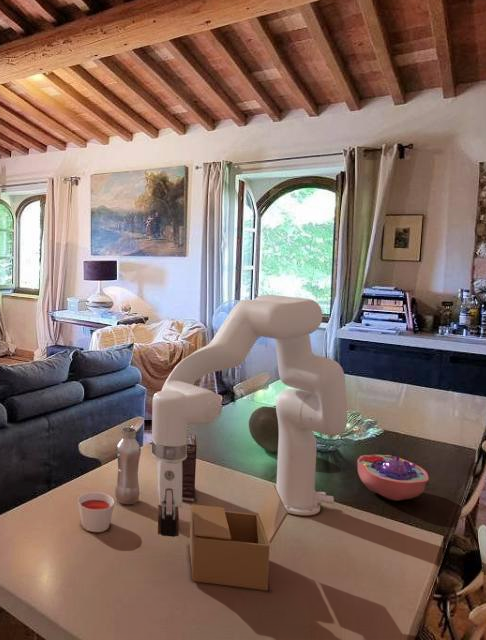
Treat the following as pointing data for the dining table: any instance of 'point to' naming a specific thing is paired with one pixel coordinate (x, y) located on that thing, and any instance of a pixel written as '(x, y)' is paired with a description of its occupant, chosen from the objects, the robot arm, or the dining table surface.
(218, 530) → the carton
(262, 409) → the dark brown egg shape
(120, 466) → the silver metal bottle
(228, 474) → the dining table surface
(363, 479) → the cell model
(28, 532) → the dining table surface
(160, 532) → the block
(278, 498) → the flap
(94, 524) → the white cup
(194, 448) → the supplement box
